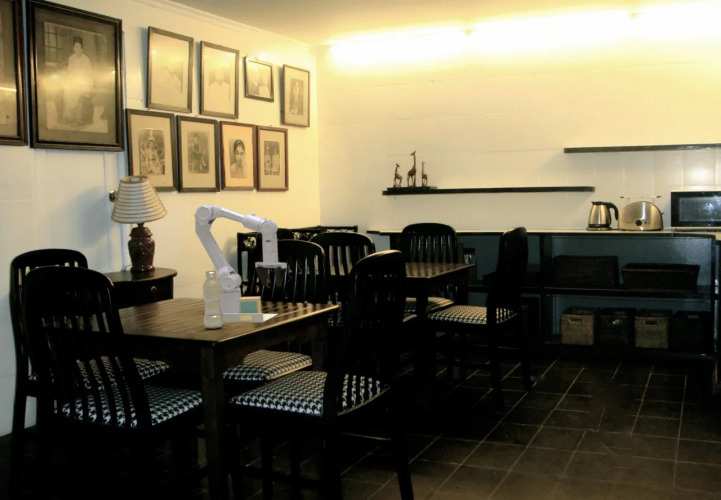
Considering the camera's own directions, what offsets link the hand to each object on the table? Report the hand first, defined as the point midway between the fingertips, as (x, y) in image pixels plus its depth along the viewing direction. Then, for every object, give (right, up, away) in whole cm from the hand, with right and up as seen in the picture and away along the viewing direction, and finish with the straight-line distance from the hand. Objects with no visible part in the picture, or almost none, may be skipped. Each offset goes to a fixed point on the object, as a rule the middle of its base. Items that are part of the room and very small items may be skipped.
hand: (271, 286), depth 286 cm
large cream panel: (-6, -12, -14) cm, 19 cm away
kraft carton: (-6, -11, -17) cm, 21 cm away
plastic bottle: (-17, -14, -30) cm, 37 cm away
